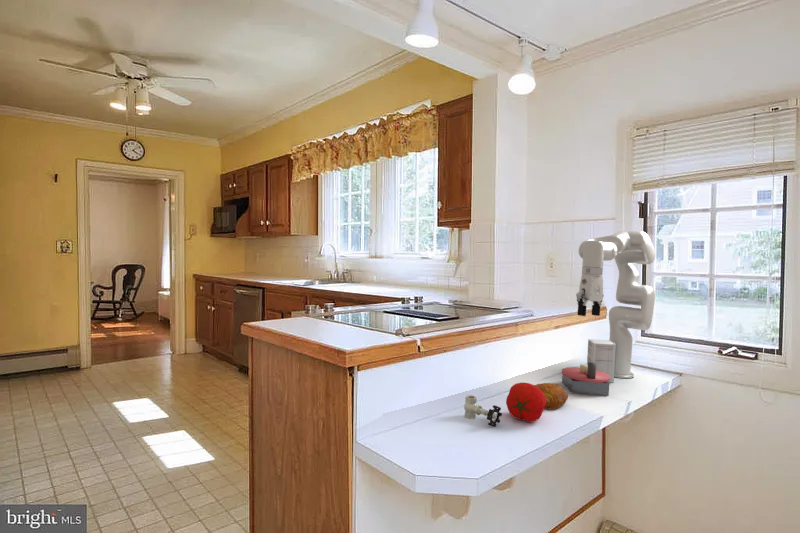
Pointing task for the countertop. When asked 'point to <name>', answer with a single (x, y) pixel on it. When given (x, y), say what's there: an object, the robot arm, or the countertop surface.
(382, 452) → the countertop surface
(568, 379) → the housing
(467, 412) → the valve
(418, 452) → the countertop surface
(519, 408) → the tomato
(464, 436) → the countertop surface
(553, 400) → the croissant
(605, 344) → the supplement box
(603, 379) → the handwheel
